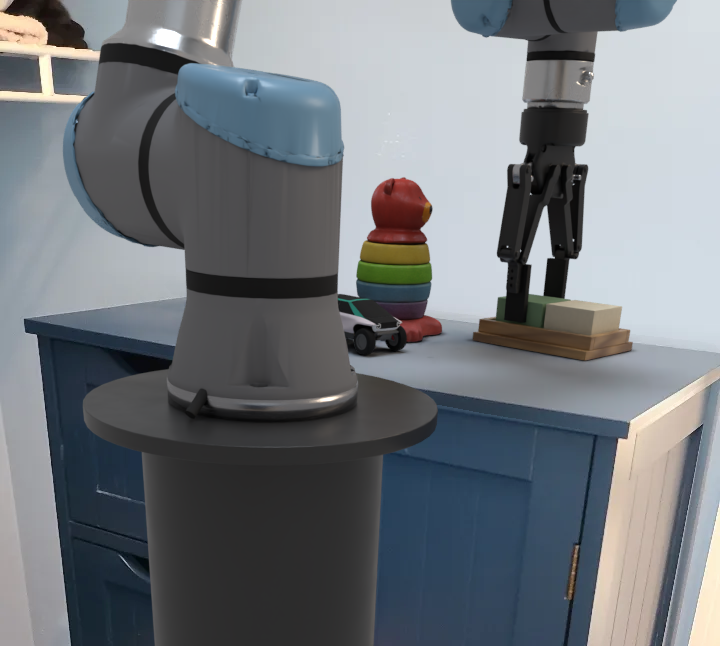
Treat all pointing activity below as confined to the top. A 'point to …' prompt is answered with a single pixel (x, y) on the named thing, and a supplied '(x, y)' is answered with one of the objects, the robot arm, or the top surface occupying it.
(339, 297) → the toy car
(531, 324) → the sage block
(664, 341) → the top surface
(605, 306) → the beige block
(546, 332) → the frame
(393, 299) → the stacking bear
